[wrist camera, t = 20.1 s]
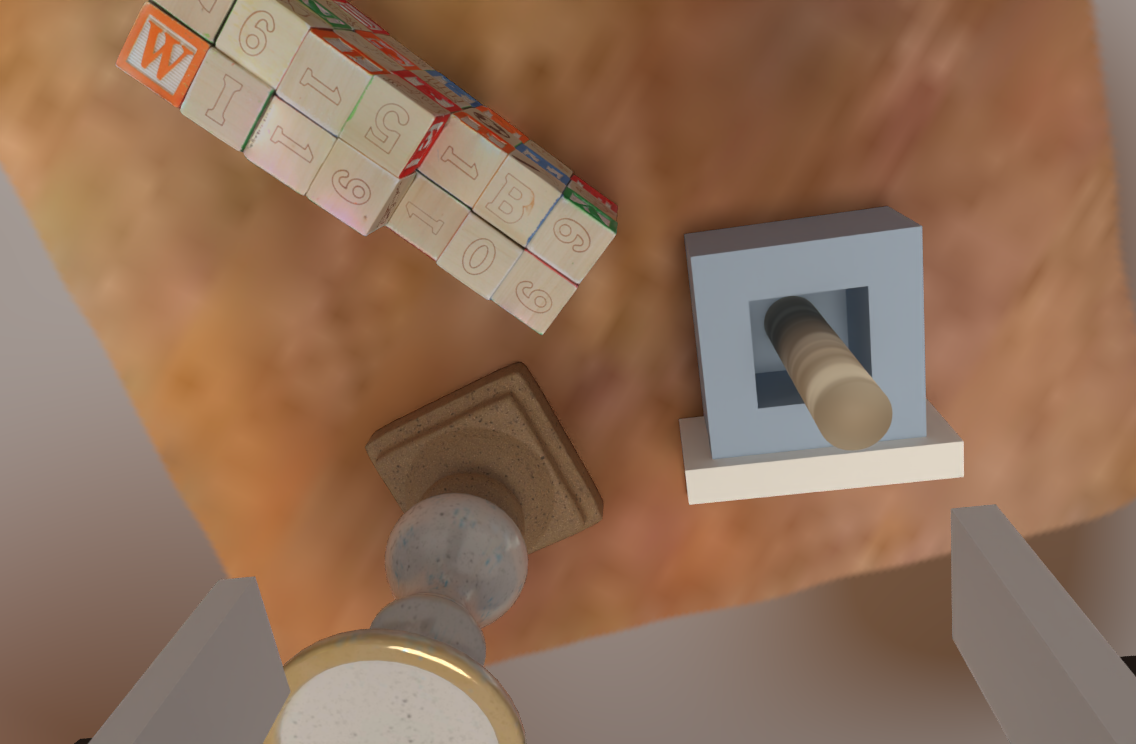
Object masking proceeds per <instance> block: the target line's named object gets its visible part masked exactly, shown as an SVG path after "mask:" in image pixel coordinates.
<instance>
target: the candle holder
mask: <svg viewBox="0 0 1136 744" xmlns="http://www.w3.org/2000/svg"><path fill="white" fill-rule="evenodd" d="M365 448H366V451H367V453H368V455H369V457H370V459H371V461H372V462H373V464H374V466H375V468H376V469H377V471H378V473H379V474H380V476H381V477H382V479H383V481H384V482H385V484H386V485H387V487H388V488H389V490H390V491H391V493H392V495H393V496H394V498H395V500H396V501H397V503H398V504H399V506H400V508H401V509H402V511H403V512H404V514H403V515H402V516H401V517H400V519H399V520H398V521H397V523H396V524H395V526H394V528H393V529H392V531H391V533H390V536H389V539H388V541H387V546H386V551H385V572H386V578H387V582H388V584H389V587H390V590H391V592H392V595H393V596H394V598H395V601H393V602H391V603H389V604H388V605H386V606H385V607H384V608H382V610H381V611H380V612H379V613H378V614H377V615H376V617H375V619H374V620H373V622H372V624H371V626H370V629H359V630H354V631H348V632H343V633H339V634H336V635H333V636H330V637H327V638H324V639H321V640H319V641H317V642H315V643H314V644H312V645H310V646H308V647H306V648H304V649H303V650H302V651H300V652H299V653H298V654H296V655H295V656H294V657H293V658H291V659H290V660H289V661H288V662H286V663H285V664H284V666H283V669H284V672H285V675H286V678H287V682H288V685H289V688H290V691H291V692H290V694H289V696H288V698H287V699H286V701H285V703H284V705H283V707H282V709H281V711H280V712H279V714H278V716H277V718H276V720H275V722H274V723H273V725H272V727H271V729H270V731H269V733H268V735H267V736H266V738H265V740H264V742H263V744H527V743H526V735H525V730H524V727H523V724H522V721H521V718H520V715H519V712H518V710H517V709H516V707H515V705H514V703H513V701H512V699H511V697H510V696H509V694H508V693H507V692H506V690H505V689H504V688H503V687H502V685H501V684H500V683H499V681H498V680H497V679H496V678H495V677H494V676H493V675H492V674H491V673H490V672H489V671H487V670H486V669H485V668H484V667H483V665H484V662H485V657H486V643H485V638H484V635H483V632H482V630H481V628H483V627H485V626H487V625H489V624H491V623H493V622H494V621H496V620H497V619H499V618H500V617H501V616H503V615H504V614H505V613H506V612H507V611H508V610H509V609H510V608H511V607H512V605H513V604H514V603H515V602H516V600H517V599H518V597H519V595H520V593H521V591H522V589H523V587H524V584H525V581H526V577H527V572H528V554H530V553H533V552H535V551H537V550H539V549H542V548H544V547H546V546H549V545H551V544H553V543H556V542H558V541H560V540H563V539H565V538H567V537H569V536H572V535H574V534H576V533H579V532H581V531H582V530H584V529H586V528H588V527H590V526H592V525H594V524H596V523H598V522H599V521H600V520H602V516H603V500H602V498H601V496H600V494H599V492H598V490H597V488H596V486H595V484H594V482H593V480H592V479H591V477H590V475H589V473H588V471H587V470H586V468H585V466H584V464H583V463H582V461H581V459H580V457H579V456H578V454H577V452H576V450H575V449H574V447H573V445H572V443H571V442H570V440H569V438H568V436H567V435H566V433H565V431H564V429H563V428H562V426H561V424H560V422H559V421H558V419H557V417H556V415H555V414H554V412H553V410H552V408H551V407H550V405H549V403H548V401H547V400H546V398H545V396H544V394H543V393H542V391H541V389H540V387H539V386H538V384H537V383H536V381H535V379H534V378H533V376H532V375H531V373H530V372H529V370H528V369H527V367H526V366H525V365H524V364H523V363H522V362H521V363H514V364H512V365H510V366H507V367H505V368H503V369H500V370H498V371H496V372H493V373H491V374H489V375H487V376H485V377H483V378H481V379H479V380H477V381H475V382H473V383H471V384H469V385H467V386H465V387H463V388H461V389H459V390H457V391H455V392H453V393H451V394H448V395H446V396H444V397H442V398H440V399H438V400H436V401H434V402H432V403H430V404H428V405H426V406H424V407H422V408H420V409H418V410H416V411H414V412H412V413H410V414H408V415H406V416H404V417H402V418H400V419H397V420H395V421H394V422H392V423H390V424H388V425H386V426H385V427H383V428H381V429H379V430H377V431H376V432H375V433H374V434H373V435H372V437H371V438H370V440H369V441H368V443H367V445H366V446H365Z"/></svg>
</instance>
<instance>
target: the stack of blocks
mask: <svg viewBox="0 0 1136 744" xmlns="http://www.w3.org/2000/svg"><path fill="white" fill-rule="evenodd" d="M116 66H117V67H118V68H120V69H121V70H122V71H124V72H125V73H127V74H128V75H130V76H131V77H133V78H134V79H135V80H137V81H138V82H140V83H141V84H143V85H144V86H146V87H147V88H149V89H150V90H151V91H153V92H154V93H156V94H157V95H159V96H160V97H162V98H163V99H164V100H166V101H167V102H169V103H170V104H172V105H173V106H175V107H177V108H179V109H180V111H181V113H182V114H183V115H184V116H186V117H187V118H189V119H190V120H192V121H193V122H195V123H196V124H198V125H199V126H201V127H202V128H204V129H205V130H207V131H208V132H210V133H211V134H213V135H214V136H216V137H217V138H219V139H220V140H222V141H223V142H225V143H226V144H228V145H229V146H231V147H232V148H234V149H235V150H237V151H240V152H243V153H244V154H245V157H246V158H247V160H249V161H251V162H252V163H254V164H255V165H256V166H258V167H259V168H261V169H263V170H264V171H266V172H267V173H269V174H270V175H272V176H273V177H275V178H276V179H278V180H279V181H281V182H282V183H284V184H285V185H287V186H288V187H290V188H291V189H293V190H294V191H296V192H297V193H299V194H301V195H305V196H307V198H308V199H309V200H311V201H312V202H313V203H315V204H316V205H318V206H319V207H321V208H322V209H324V210H325V211H327V212H328V213H330V214H332V215H333V216H334V217H336V218H337V219H339V220H340V221H342V222H343V223H345V224H346V225H348V226H349V227H351V228H353V229H354V230H356V231H357V232H359V233H360V234H361V235H363V236H367V235H368V234H370V233H372V232H374V231H375V230H377V229H379V228H381V227H382V226H384V225H385V226H386V227H387V228H389V229H390V230H391V231H393V232H394V233H396V234H397V235H399V236H400V237H401V238H403V239H404V240H406V241H407V242H409V243H410V244H411V245H413V246H414V247H416V248H417V249H419V250H420V251H421V252H423V253H424V254H426V255H427V256H428V257H430V258H431V259H433V260H435V261H436V263H437V265H438V266H440V267H441V268H442V269H444V270H445V271H447V272H448V273H449V274H451V275H452V276H454V277H455V278H456V279H458V280H459V281H461V282H462V283H464V284H465V285H466V286H468V287H469V288H471V289H472V290H474V291H475V292H476V293H478V294H479V295H481V296H482V297H484V298H485V299H487V300H492V301H494V302H495V303H496V304H498V305H499V306H500V307H502V308H503V309H504V310H506V311H507V312H509V313H510V314H512V315H513V316H514V317H516V318H517V319H519V320H520V321H521V322H523V323H525V324H526V325H527V326H529V327H530V328H531V329H533V330H534V331H536V332H537V333H539V334H540V335H543V334H544V332H545V331H546V330H547V328H548V327H549V326H550V324H551V323H552V322H553V320H554V319H555V318H556V316H557V315H558V314H559V312H560V311H561V310H562V308H563V307H564V306H565V304H566V303H567V302H568V300H569V299H570V298H571V296H572V295H573V293H574V292H575V291H576V289H577V288H578V285H579V284H580V283H581V281H582V280H583V279H584V277H585V276H586V275H587V273H588V272H589V271H590V269H591V268H592V267H593V265H594V264H595V263H596V261H597V260H598V259H599V257H600V256H601V254H602V253H603V252H604V251H605V249H606V248H607V246H608V245H609V244H610V242H611V241H612V240H613V238H614V237H615V235H616V233H617V225H618V223H617V222H616V221H617V210H618V206H617V205H616V204H614V203H613V202H612V201H610V200H609V199H607V198H606V197H605V196H603V195H602V194H600V193H599V192H598V191H596V190H595V189H594V188H592V187H591V186H589V185H588V184H587V183H586V182H584V181H583V180H581V179H580V178H579V177H577V176H576V175H574V174H573V171H572V170H571V169H569V168H568V167H567V166H565V165H564V164H563V163H561V162H560V161H559V160H557V159H556V158H555V157H553V156H552V155H551V154H549V153H548V152H547V151H545V150H544V149H543V148H541V147H540V146H539V145H537V144H536V143H534V142H533V141H531V140H530V139H529V138H528V137H527V136H525V135H524V134H523V133H522V132H520V131H519V130H518V129H516V128H515V127H514V126H512V125H511V124H510V123H508V122H507V121H506V120H504V119H503V118H502V117H500V116H499V115H498V114H496V113H495V112H494V111H492V110H491V109H490V108H488V107H487V106H484V105H482V104H480V103H479V102H478V101H477V100H475V99H474V98H473V97H471V96H470V95H469V94H467V93H466V92H465V91H463V90H462V89H461V88H459V87H458V86H457V85H455V84H454V83H453V82H451V81H450V80H449V79H447V78H446V77H445V76H443V75H442V74H441V73H439V72H437V71H436V70H434V69H433V68H432V67H431V66H430V65H428V64H427V63H426V62H424V61H423V60H422V59H420V58H419V57H418V56H416V55H415V54H414V53H412V52H411V51H410V50H408V49H407V48H406V47H404V46H403V45H402V44H400V43H399V42H397V41H396V40H395V39H393V38H392V37H391V36H390V35H389V33H388V32H386V31H385V30H384V29H382V28H381V27H380V26H379V25H377V24H376V23H375V22H373V21H372V20H371V19H369V18H368V17H367V16H365V15H364V14H363V13H361V12H360V11H359V10H357V9H356V8H355V7H353V6H352V5H351V4H349V3H348V2H347V1H345V0H149V1H146V2H145V3H144V5H143V6H142V8H141V10H140V12H139V14H138V16H137V18H136V20H135V22H134V24H133V26H132V28H131V31H130V33H129V35H128V37H127V39H126V41H125V43H124V45H123V47H122V50H121V52H120V54H119V56H118V58H117V61H116Z"/></svg>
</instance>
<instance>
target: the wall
mask: <svg viewBox="0 0 1136 744" xmlns="http://www.w3.org/2000/svg"><path fill="white" fill-rule="evenodd" d="M679 425H680V434H681V442H682V450H683V459H684V467H685V475H686V484H687V492H688V500H689V505H691V504H701V503H711V502H720V501H730V500H740V499H750V498H760V497H770V496H780V495H790V494H799V493H809V492H819V491H829V490H839V489H849V488H859V487H868V486H878V485H888V484H898V483H908V482H918V481H928V480H938V479H947V478H957V477H964V441H963V440H962V439H961V438H960V437H959V435H958V434H957V433H956V432H955V431H954V430H953V428H952V427H951V426H950V425H949V424H948V423H947V421H946V420H945V419H944V418H943V417H942V416H941V415H940V413H939V412H938V411H937V410H936V409H935V408H934V406H933V405H932V404H931V403H930V402H929V401H928V399H927V398H926V434H927V437H917V438H908V439H899V440H889V441H880V442H877V443H875V444H874V445H872V446H870V447H868V448H865V449H861V450H854V451H850V450H843V449H839V448H837V447H835V446H833V447H824V448H815V449H805V450H796V451H787V452H777V453H768V454H759V455H749V456H740V457H731V458H721V459H712V455H711V449H710V444H709V439H708V434H707V429H706V424H705V419H704V416H702V417H693V418H684V419H679Z"/></svg>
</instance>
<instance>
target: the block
mask: <svg viewBox="0 0 1136 744" xmlns="http://www.w3.org/2000/svg"><path fill="white" fill-rule="evenodd" d="M684 239H685V248H686V257H687V266H688V276H689V285H690V294H691V303H692V312H693V321H694V330H695V339H696V348H697V357H698V367H699V376H700V385H701V394H702V403H703V412H704V419H705V424H706V429H707V434H708V439H709V444H710V449H711V455H712V459H721V458H731V457H740V456H749V455H759V454H768V453H777V452H787V451H796V450H805V449H815V448H824V447H833V445H831V444H830V443H829V442H828V441H826V439H825V438H824V437H823V436H822V434H821V432H820V430H819V429H818V427H817V425H816V423H815V421H814V419H813V418H812V416H811V414H810V412H809V410H808V409H807V407H806V405H805V403H804V401H803V399H802V398H801V396H800V394H799V392H798V390H797V388H796V387H795V385H794V383H793V381H792V379H791V378H790V376H789V374H788V372H787V370H786V368H785V367H784V365H783V363H782V361H781V359H780V358H779V356H778V354H777V352H776V350H775V348H774V347H773V345H772V343H771V341H770V339H769V338H768V336H767V334H766V331H765V328H764V319H765V315H766V313H767V311H768V309H769V308H770V306H771V305H772V304H773V303H774V302H776V301H777V300H779V299H781V298H783V297H787V296H799V297H803V298H805V299H807V300H808V301H810V302H811V303H812V304H813V305H814V307H815V308H816V309H817V310H818V312H819V313H820V314H821V315H822V316H823V318H824V319H825V320H826V321H827V323H828V324H829V325H830V326H831V328H832V329H833V330H834V331H835V333H836V334H837V335H838V336H839V338H840V339H841V340H842V341H843V343H844V344H845V345H846V346H847V347H848V349H849V350H850V351H851V352H852V354H853V355H854V356H855V357H856V359H857V360H858V361H859V362H860V364H861V365H862V366H863V367H864V369H865V370H866V371H867V372H868V374H869V375H870V376H871V377H872V378H873V380H874V381H875V382H876V383H877V385H878V386H879V387H880V388H881V390H882V391H883V392H884V393H885V395H886V396H887V397H888V399H889V401H890V403H891V406H892V412H893V414H892V422H891V425H890V427H889V429H888V431H887V433H886V434H885V435H884V436H883V438H882V439H881V440H879V441H878V442H880V441H889V440H899V439H908V438H917V437H927V434H926V387H925V340H924V292H923V245H922V226H921V225H919V224H918V223H916V222H914V221H913V220H911V219H909V218H907V217H906V216H904V215H902V214H900V213H899V212H897V211H895V210H894V209H892V208H890V207H888V206H885V207H878V208H871V209H864V210H856V211H849V212H842V213H834V214H827V215H820V216H812V217H805V218H798V219H791V220H783V221H776V222H769V223H761V224H754V225H747V226H739V227H732V228H725V229H718V230H710V231H703V232H696V233H688V234H684Z"/></svg>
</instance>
